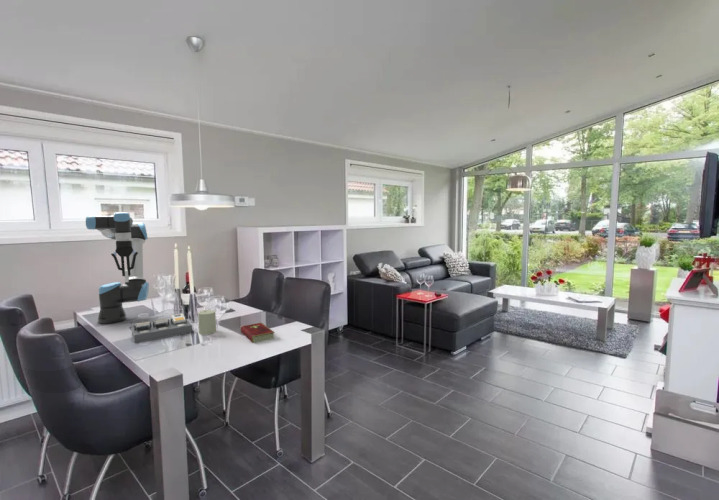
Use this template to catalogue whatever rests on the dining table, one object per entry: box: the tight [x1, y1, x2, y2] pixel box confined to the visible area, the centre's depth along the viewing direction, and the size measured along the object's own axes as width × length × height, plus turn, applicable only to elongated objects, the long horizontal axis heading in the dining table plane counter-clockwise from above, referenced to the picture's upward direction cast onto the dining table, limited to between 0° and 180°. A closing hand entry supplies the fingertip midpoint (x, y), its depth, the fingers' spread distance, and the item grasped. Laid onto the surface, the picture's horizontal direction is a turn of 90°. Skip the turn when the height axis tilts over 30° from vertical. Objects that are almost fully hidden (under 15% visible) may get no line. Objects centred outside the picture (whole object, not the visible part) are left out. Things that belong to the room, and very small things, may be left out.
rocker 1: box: [135, 321, 151, 327], centre depth 203 cm, size 8×6×2 cm
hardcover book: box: [240, 322, 275, 344], centre depth 203 cm, size 12×21×4 cm, turn 34°
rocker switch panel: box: [130, 315, 193, 344], centre depth 207 cm, size 16×28×7 cm, turn 126°
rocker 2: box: [170, 313, 187, 324], centre depth 214 cm, size 8×6×2 cm
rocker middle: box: [153, 318, 169, 324], centre depth 209 cm, size 8×6×2 cm
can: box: [197, 309, 217, 336], centre depth 209 cm, size 9×9×12 cm
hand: (126, 281), depth 210 cm, fingers closed
